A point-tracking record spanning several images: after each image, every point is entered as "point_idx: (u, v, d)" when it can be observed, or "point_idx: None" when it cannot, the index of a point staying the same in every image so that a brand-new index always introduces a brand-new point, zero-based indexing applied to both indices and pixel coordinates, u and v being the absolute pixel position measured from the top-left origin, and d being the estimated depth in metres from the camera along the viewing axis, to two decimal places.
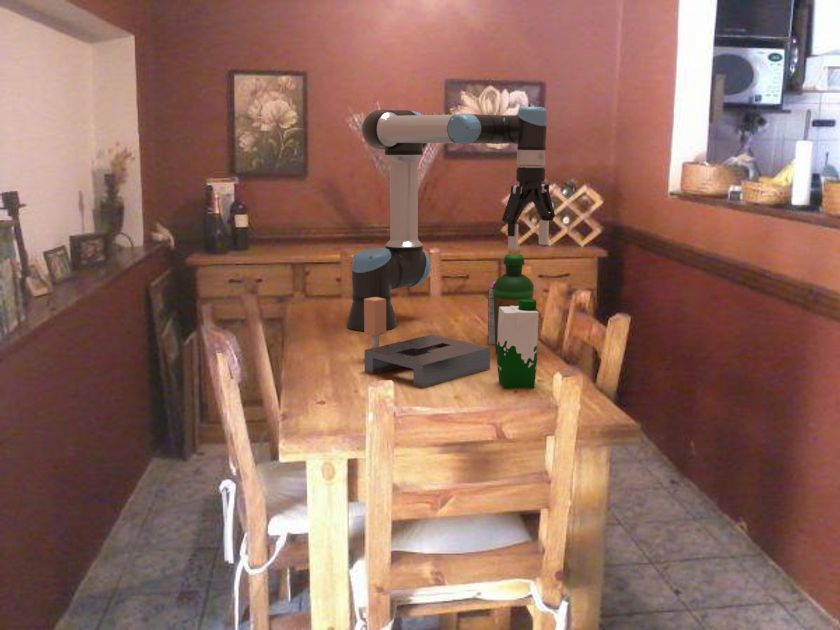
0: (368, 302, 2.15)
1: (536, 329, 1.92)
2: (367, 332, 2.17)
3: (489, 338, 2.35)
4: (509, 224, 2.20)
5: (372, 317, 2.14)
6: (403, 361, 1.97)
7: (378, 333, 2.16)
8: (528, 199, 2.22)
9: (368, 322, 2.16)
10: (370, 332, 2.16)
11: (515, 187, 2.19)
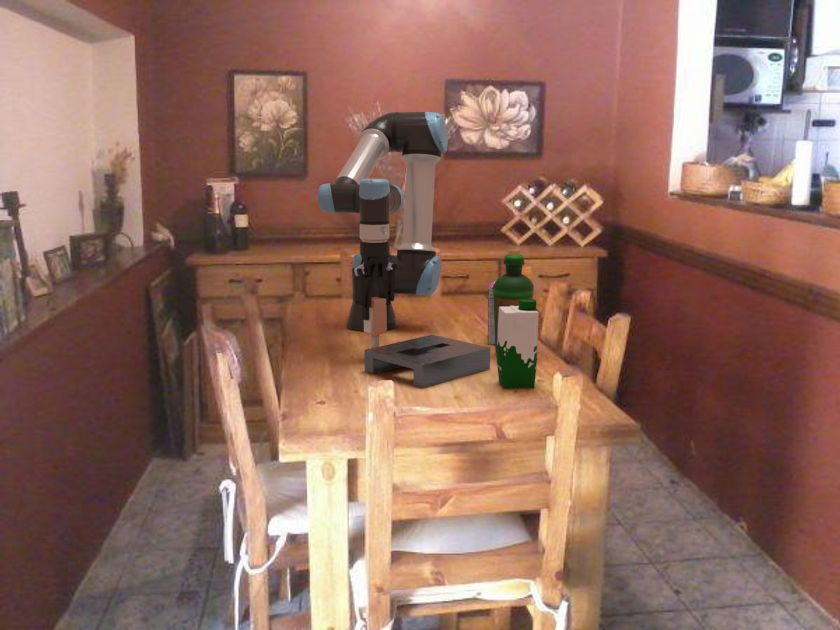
0: None
1: (536, 329, 1.92)
2: (367, 332, 2.17)
3: (489, 338, 2.35)
4: (363, 308, 2.13)
5: None
6: (403, 361, 1.97)
7: (378, 333, 2.16)
8: (374, 277, 2.12)
9: None
10: None
11: (356, 270, 2.09)
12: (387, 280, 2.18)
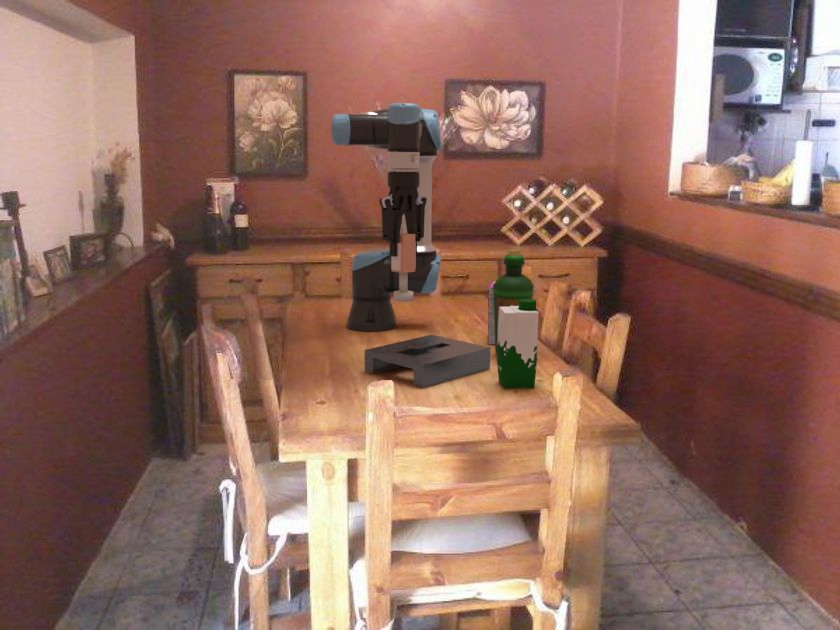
0: None
1: (536, 329, 1.92)
2: (395, 270, 2.02)
3: (489, 338, 2.35)
4: (391, 243, 1.99)
5: None
6: (403, 361, 1.97)
7: (407, 271, 2.01)
8: (403, 209, 1.98)
9: None
10: None
11: (383, 201, 1.95)
12: (416, 215, 2.04)
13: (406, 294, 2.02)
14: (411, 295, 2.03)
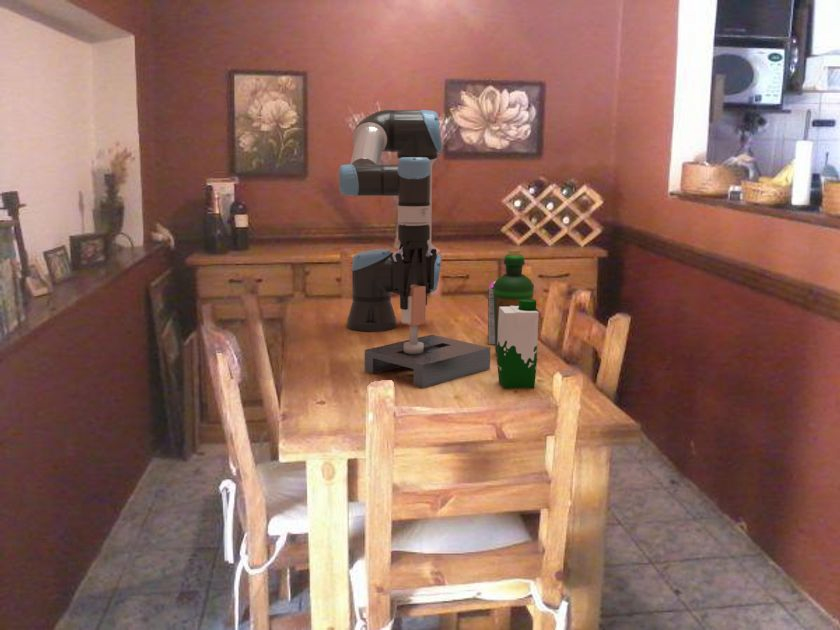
0: None
1: (536, 329, 1.92)
2: None
3: (489, 338, 2.35)
4: (401, 296, 1.98)
5: None
6: (403, 361, 1.97)
7: (417, 323, 2.00)
8: (413, 262, 1.97)
9: None
10: None
11: (394, 256, 1.94)
12: (426, 267, 2.03)
13: (416, 346, 2.01)
14: (421, 347, 2.02)
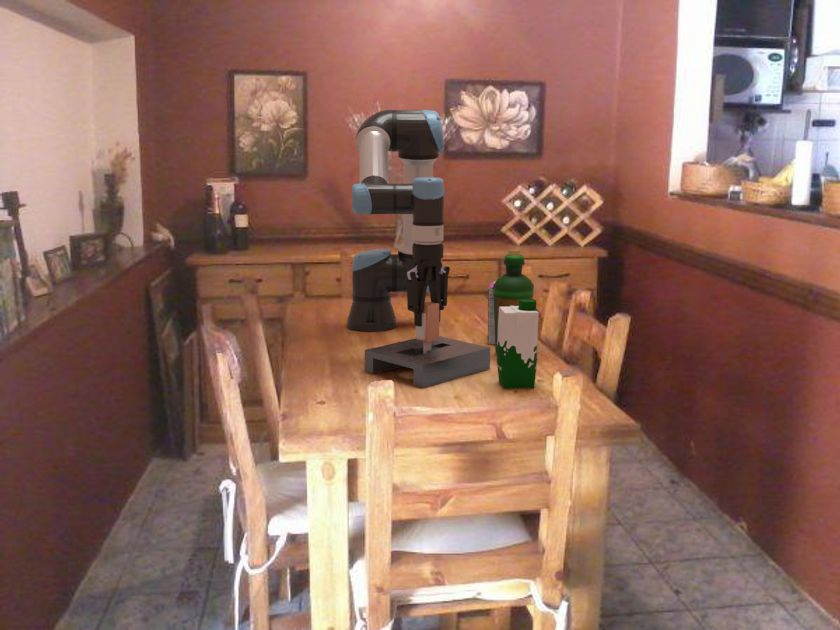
0: None
1: (536, 329, 1.92)
2: None
3: (489, 338, 2.35)
4: (415, 313, 2.03)
5: None
6: (403, 361, 1.97)
7: (431, 339, 2.05)
8: (427, 280, 2.02)
9: None
10: None
11: (409, 274, 1.99)
12: (440, 284, 2.08)
13: None
14: None
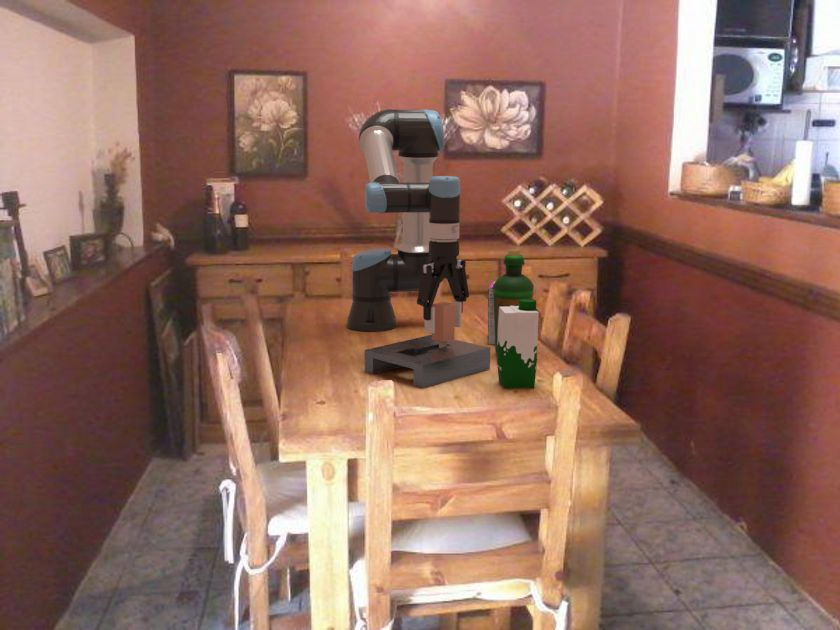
0: (436, 307, 2.08)
1: (536, 329, 1.92)
2: (435, 338, 2.10)
3: (489, 338, 2.35)
4: (425, 307, 2.05)
5: (440, 323, 2.08)
6: (403, 361, 1.97)
7: (446, 339, 2.09)
8: (442, 277, 2.05)
9: (436, 328, 2.09)
10: (439, 338, 2.09)
11: (425, 267, 2.02)
12: (459, 278, 2.12)
13: None
14: None
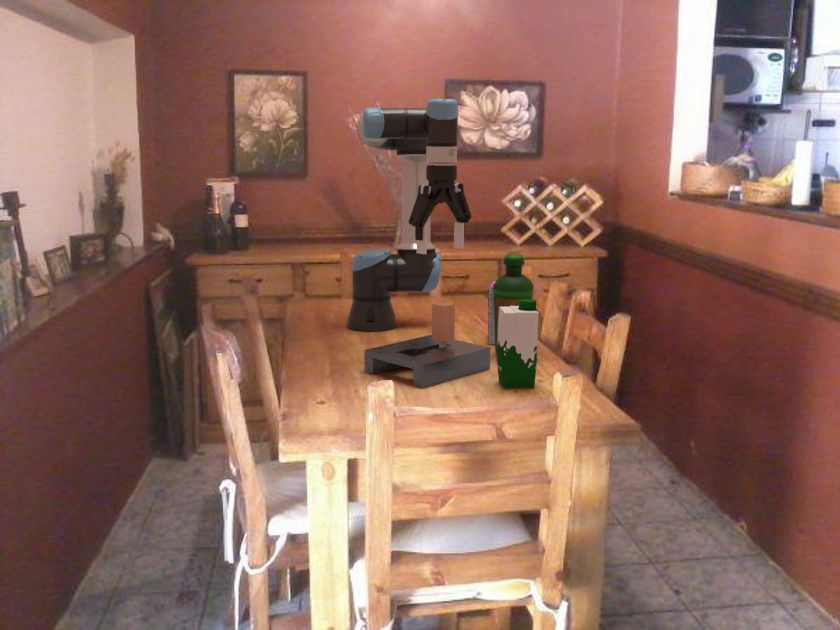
0: (437, 307, 2.08)
1: (536, 329, 1.92)
2: (435, 338, 2.10)
3: (489, 338, 2.35)
4: (416, 227, 2.02)
5: (440, 323, 2.08)
6: (403, 361, 1.97)
7: (446, 339, 2.09)
8: (438, 200, 2.03)
9: (436, 328, 2.09)
10: (439, 338, 2.09)
11: (422, 187, 2.01)
12: (458, 201, 2.12)
13: None
14: None
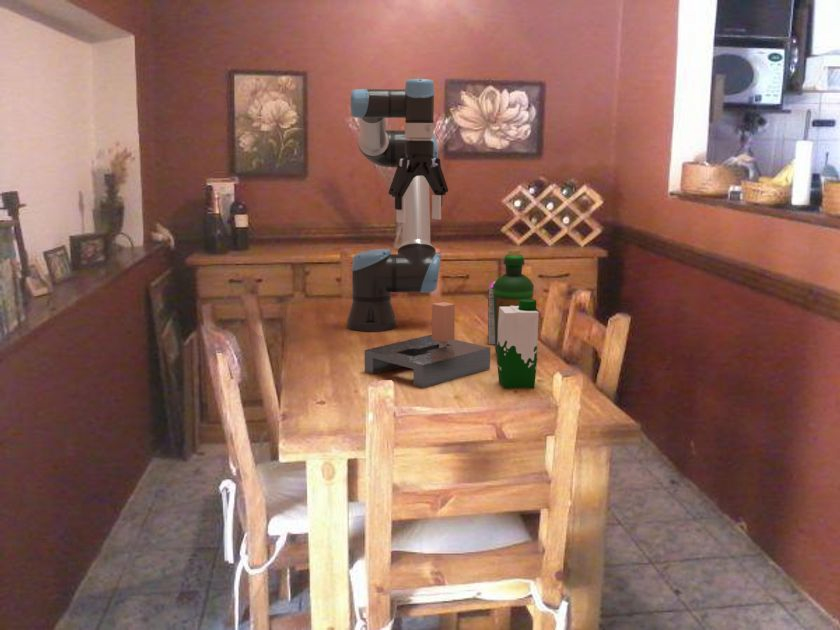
0: (437, 307, 2.08)
1: (536, 329, 1.92)
2: (435, 338, 2.10)
3: (489, 338, 2.35)
4: (396, 197, 2.19)
5: (440, 323, 2.08)
6: (403, 361, 1.97)
7: (446, 339, 2.09)
8: (416, 172, 2.20)
9: (436, 328, 2.09)
10: (439, 338, 2.09)
11: (401, 160, 2.18)
12: (436, 175, 2.28)
13: None
14: None
